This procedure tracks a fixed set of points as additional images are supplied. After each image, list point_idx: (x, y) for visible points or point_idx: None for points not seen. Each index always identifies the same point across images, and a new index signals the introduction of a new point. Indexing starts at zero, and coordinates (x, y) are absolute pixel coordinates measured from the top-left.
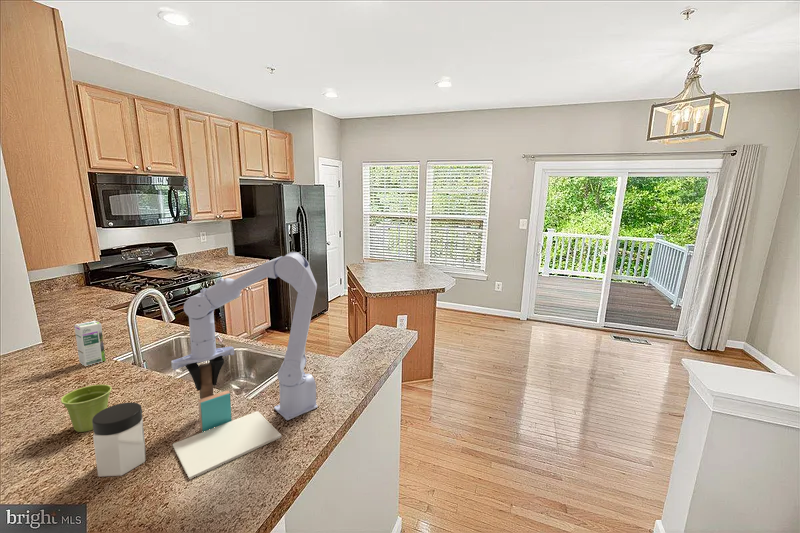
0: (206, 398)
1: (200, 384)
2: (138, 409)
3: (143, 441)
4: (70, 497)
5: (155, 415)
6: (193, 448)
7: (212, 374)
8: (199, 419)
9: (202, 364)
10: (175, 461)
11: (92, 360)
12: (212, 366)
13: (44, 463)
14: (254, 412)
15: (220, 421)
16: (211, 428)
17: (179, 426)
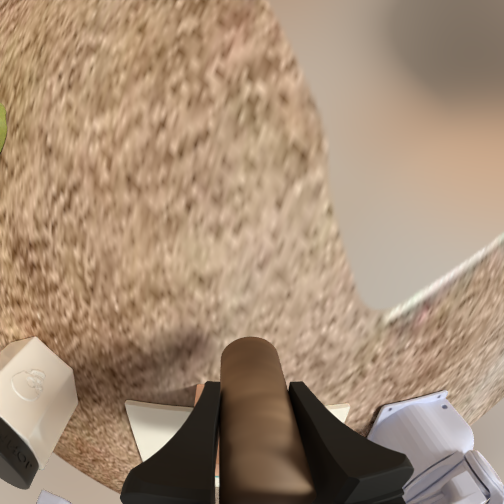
0: (216, 469)
1: (218, 442)
2: (24, 484)
3: (61, 430)
4: None
5: (97, 197)
6: (165, 442)
7: (302, 437)
8: (194, 406)
9: (265, 490)
10: (131, 438)
11: None
12: (314, 486)
13: None
14: (339, 410)
15: None
16: None
17: (148, 332)
